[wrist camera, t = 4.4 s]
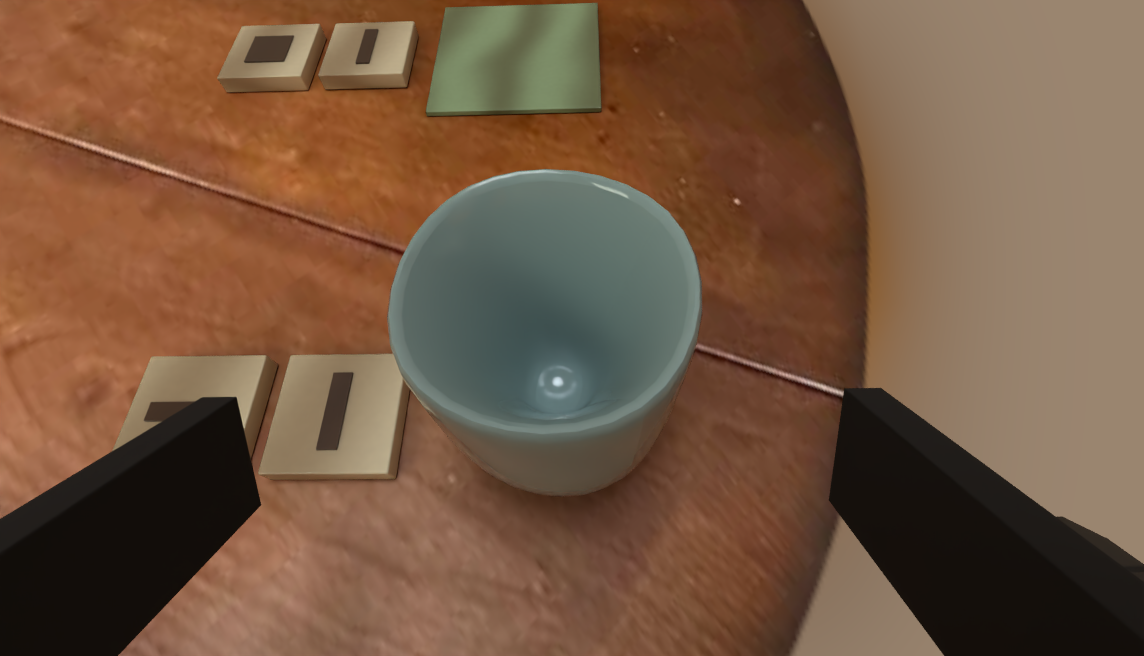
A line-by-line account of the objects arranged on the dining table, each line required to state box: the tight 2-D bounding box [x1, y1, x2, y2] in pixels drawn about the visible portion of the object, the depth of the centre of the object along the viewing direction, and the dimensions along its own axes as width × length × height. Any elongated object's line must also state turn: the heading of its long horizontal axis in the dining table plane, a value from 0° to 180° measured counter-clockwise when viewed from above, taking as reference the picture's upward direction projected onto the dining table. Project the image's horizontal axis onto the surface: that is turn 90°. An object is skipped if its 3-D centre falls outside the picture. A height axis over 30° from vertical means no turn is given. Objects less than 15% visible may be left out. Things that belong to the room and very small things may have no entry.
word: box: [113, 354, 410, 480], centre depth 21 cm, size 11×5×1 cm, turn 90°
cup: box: [387, 169, 702, 497], centre depth 17 cm, size 8×8×10 cm
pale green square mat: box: [217, 3, 601, 116], centre depth 32 cm, size 22×10×1 cm, turn 90°
